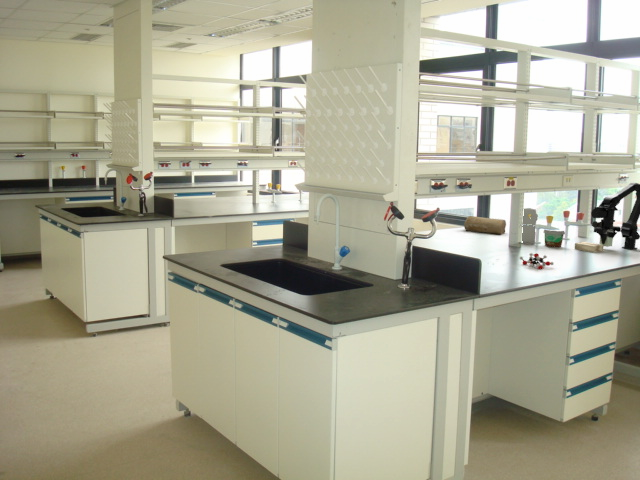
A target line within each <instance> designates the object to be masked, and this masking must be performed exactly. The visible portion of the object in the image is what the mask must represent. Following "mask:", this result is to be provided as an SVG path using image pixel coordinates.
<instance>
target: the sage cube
mask: <svg viewBox="0 0 640 480" xmlns="http://www.w3.org/2000/svg"><path fill="white" fill-rule="evenodd" d="M613 240H614V237H613V238H611V237H607V239H606V241H605V244H602V241H601V237H600V236H599V244H601V245H604V247H607V248H608V247H613V242H614V241H613Z"/></svg>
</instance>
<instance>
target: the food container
mask: <svg viewBox="0 0 640 480" xmlns="http://www.w3.org/2000/svg"><path fill="white" fill-rule="evenodd" d="M543 233H544V247H548V248H561V247H562V244H563V239H564V235H565V234H566V232H565V230H550V229H549V230H548V229H544V230H543Z"/></svg>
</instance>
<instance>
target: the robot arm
mask: <svg viewBox="0 0 640 480" xmlns="http://www.w3.org/2000/svg"><path fill="white" fill-rule="evenodd" d="M633 192H635V198H636V199H635V202H634V204H633V207H632V209H631V212H630V215H629V218H628V220H627V221H625V222H624V221H623V223H622V226H615V225H614V222H616V219H615V212H616V211H619V209H618V208H617V206H618V205H619V204H620V202H621V201H622V200H623V199H624V198H626V197H628V196H629V195H630V194H632V193H633ZM590 215H591V217H592V219H601V220H600V221H596V220H595V221H592V223H591V227H592V228H593V233H597V234H598V235H599V238H600V237H601V241H602V244H605V241H606V239H607V237H611V238H613V239H614V238H615V236H616V235H617V233H620V232H621V237H622V238H624V244H623V245H624V246H621V248H622V249H627V250H637V249H638V247H636V241H638V240H640V234H639V232H638V229H639V228H638V221H639V218H640V183H638V182H630V183H629V184H627V185H626V186H625V187H623V188H621V190H618V191H617V192H615V193H613V194H609V195H607V196H604V198H603V200H602V201H601V203H600V204H599V205H598V206H594V208H593V209H592V210H591V213H590Z"/></svg>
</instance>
